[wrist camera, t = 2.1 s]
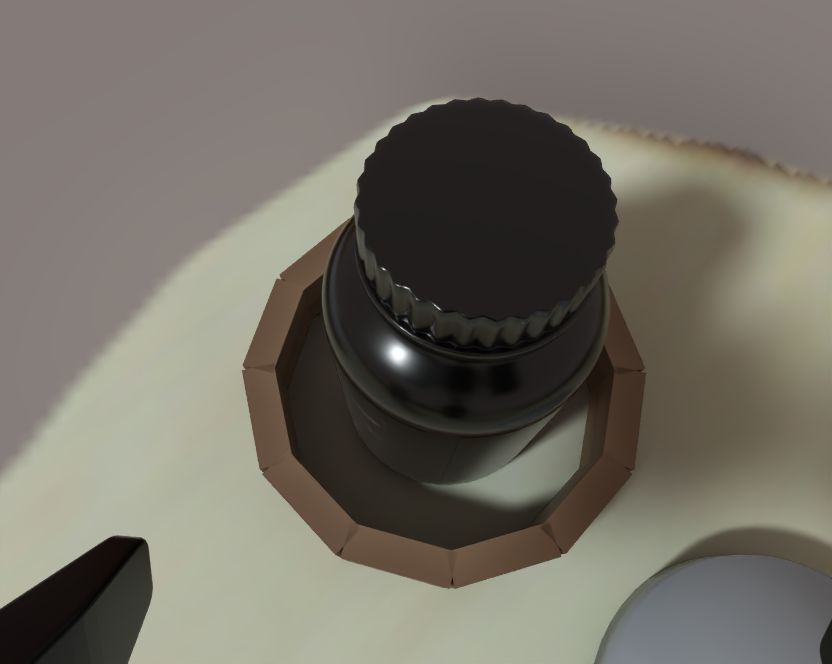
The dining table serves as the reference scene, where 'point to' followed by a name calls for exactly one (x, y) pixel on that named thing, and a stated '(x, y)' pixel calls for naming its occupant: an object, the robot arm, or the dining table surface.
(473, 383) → the supplement bottle
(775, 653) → the coaster
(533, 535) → the ring holder
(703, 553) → the dining table surface
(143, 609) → the robot arm
